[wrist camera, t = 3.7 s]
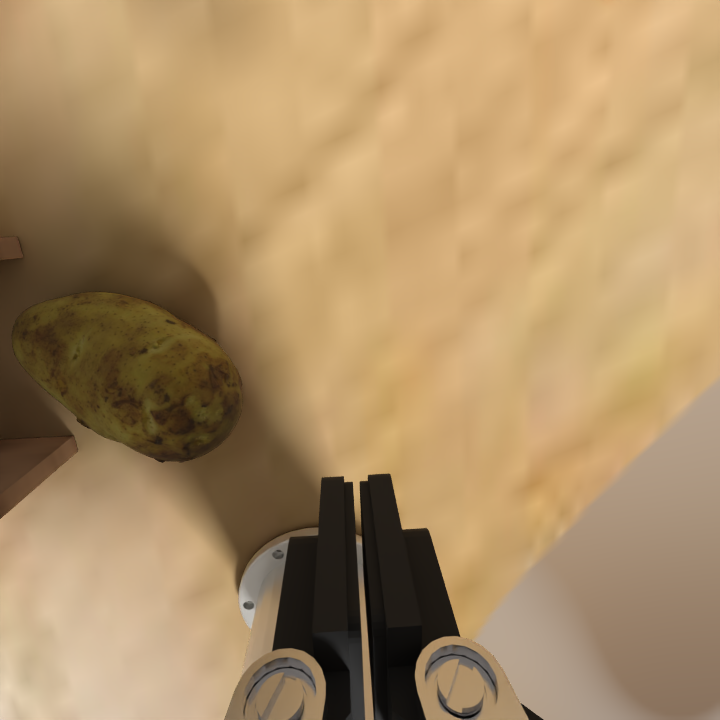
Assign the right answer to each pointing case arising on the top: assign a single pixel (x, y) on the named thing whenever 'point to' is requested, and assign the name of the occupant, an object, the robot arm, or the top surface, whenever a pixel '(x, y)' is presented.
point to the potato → (131, 372)
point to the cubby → (27, 441)
